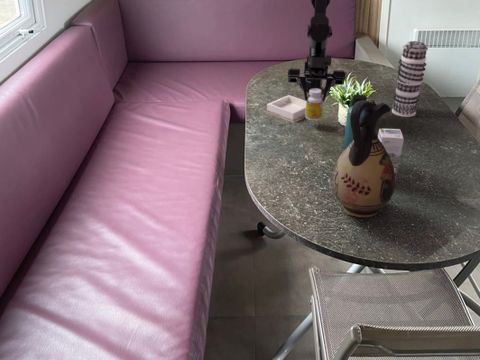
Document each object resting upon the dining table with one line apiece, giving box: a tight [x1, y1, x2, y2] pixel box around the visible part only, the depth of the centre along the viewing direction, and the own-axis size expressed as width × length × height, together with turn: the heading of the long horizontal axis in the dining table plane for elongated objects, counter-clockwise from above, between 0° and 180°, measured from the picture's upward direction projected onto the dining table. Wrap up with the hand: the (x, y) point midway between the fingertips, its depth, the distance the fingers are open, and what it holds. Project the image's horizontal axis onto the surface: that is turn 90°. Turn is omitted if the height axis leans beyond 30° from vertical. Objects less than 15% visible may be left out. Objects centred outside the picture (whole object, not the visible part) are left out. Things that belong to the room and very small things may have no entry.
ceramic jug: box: [331, 99, 396, 218], centre depth 122 cm, size 17×15×30 cm
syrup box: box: [377, 128, 404, 182], centre depth 139 cm, size 6×6×14 cm
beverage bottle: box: [342, 93, 368, 153], centre depth 148 cm, size 6×7×20 cm
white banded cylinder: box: [391, 40, 429, 118], centre depth 176 cm, size 9×9×25 cm
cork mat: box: [263, 109, 307, 124], centre depth 182 cm, size 14×14×1 cm
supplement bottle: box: [305, 88, 324, 121], centre depth 168 cm, size 5×5×10 cm
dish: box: [266, 94, 306, 123], centre depth 181 cm, size 12×12×3 cm
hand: (314, 100), depth 165 cm, fingers closed on supplement bottle, 5 cm apart
